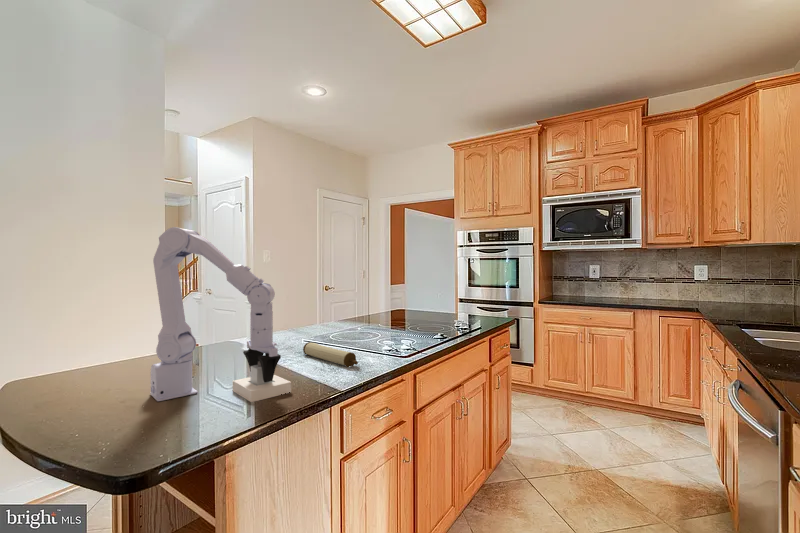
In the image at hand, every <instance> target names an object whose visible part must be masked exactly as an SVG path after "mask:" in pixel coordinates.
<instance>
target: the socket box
mask: <svg viewBox="0 0 800 533" xmlns="http://www.w3.org/2000/svg"><path fill="white" fill-rule="evenodd" d="M232 392H234V393H236V394H237V395H238V396H240V397H242V398H244V399H246V400H247V401H248V402H250V403H255V402H258V401H262V400H265V399H266V400H267V399H270V398H274V397H278V396H281V394H282V395H285V393H286V394H290V393H292V381H290V380H287V379H286V378H283V377H281V376H278V375H276V374H274V376H273V380H272V381H271V383H267V384H262V385H258V386H256V385H254V384H252V383H251V376H248V377H244V378H239V379H235V380H234V379H233V380H232ZM289 392H290V393H289Z"/></svg>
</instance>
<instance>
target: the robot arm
mask: <svg viewBox="0 0 800 533" xmlns="http://www.w3.org/2000/svg"><path fill="white" fill-rule="evenodd" d="M191 254H194V255H199V256H202V257H204V259H206V260H207V261H209V262H210V263H212V264H213V265H214V266H215V267H217V268H218V269H219V270H221V271H222V272H223V273H224V274H225V276H226V281H227V282H228V283H229V284H230V285H232V286H233V287H234V288H235V289H237V290H238V291H239V292H241V294H243V295H244V296H246V299H247V302H248V303H249V304H250V312H249V313H250V315H249V316H250V326H249V327H250V336H249V337H250V340H247V341H246V350H243V351H242V353H243V355H244V357H245V359H246V361H247V363H248V368H249V371H250V373H251V366H254V365H258V362H259V361H260V364H261V367H262V374H263V380H264V382H270V381H272V380H273V376H274V375H275V371H276V368H277V366H278V364H279V361H280V359H281V357H282V355H281V354H278V353H279V352H278V350H279V349H278V348H277V347H276V346H277V344H278V343H277V342H274V340H273V339H274V337H273V336H274V334H273V332H274V331H273V327H274V325H273V324H274V320H273V318H274V317H273V315H274V314H273V313H274V312H273V302H272V301H273V300H274V299H275V293H276V292H275V290H274V288H273V287H272V285H271V284H270V283H264V282H265V280H264V279H263V278H259V277H258V276H256V274H255V273H253V272H252V271H251V268H250V267H249V266H248V265H245V266H244V264H235V263H234V262H233V261H231V260H230V259H229V258H228V257H227V256H226V255H225V254H224V253H223V252H222V251H221V250H219V249H218V247H217V246H215V245H214V244H213V243H212V242H211V241H209V239H207V238H206V237H205V236H203V235H201V234H200V233H199V232H198V231H196V230H194V229H185V228H181V227H176V226H172V227H169V228H167V229H166V230H165V231H164V232H162V234H160V235H159V237H158V246H157V248H156V251H155V253H154V256H153V258H152V259H153V269H154V275H155V282H156V289H157V296H158V303H159V309H160V310H159V311H160V316H161V325H162V327H161V329H160V331H159V333H158V335H157V340H158V341H157V342H158V343H157V345H156V348H155V349H156V350H155V353H156V356H157V357H158V359H159V360H160V362H158V363H157V362H156V363H153V364H151V368H150V392H149V395H151V397H153V398H154V399H155V401H156V402H163V401H166V400H167V401H168V400H171V399H177V398H181V397H185V396H189V395H190V396H191V395H195V394H198V392H199V391H198V390H196V389H195V388H194V387H193V354H192V353H193V352H194V351H195V349H196V347H197V339H196V338H195V336H194V335H193V333H192V329H191V327H190V325H189V324H188V323H187V322H186V316H185V309H184V304H183V303H184V302H183V295H182V294H183V293H182V289H181V280H180V275H179V274H180V273H179V268H178V265H179V264H180V263H182V261H183V260H184V259H185V258H186V257H187V256H189V255H191Z"/></svg>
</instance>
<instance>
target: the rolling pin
mask: <svg viewBox="0 0 800 533" xmlns="http://www.w3.org/2000/svg"><path fill="white" fill-rule="evenodd" d="M302 350H303V354H304V355H305V354H307V355H306V356H311V357H314V358H317V359H321V360H324V361H327V362H330V363H335V364H337V363H338V364H337V365H340V366H341V365H342V366H345V367H346V368H350V367H349V366H352V367H354V366H355V365H356V366H357V365H358V363H359V362H358V361H357V357H356V354H355V353H354V352H350V351H346V350H341V349H337V348H334V347H329V346H326V345H321V344H319V343H317V342H309V341H308V342H306V343H305V344H304V345H303V348H302Z"/></svg>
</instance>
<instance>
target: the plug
mask: <svg viewBox="0 0 800 533" xmlns="http://www.w3.org/2000/svg"><path fill="white" fill-rule="evenodd" d="M250 377H251V383H252V384H254V385H256V386H258V385H262V384H267V383H271V381H270V382H264V380H263V374H262V367H261V364H260V361H259V362H258V365H254V366H251V372H250Z"/></svg>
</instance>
